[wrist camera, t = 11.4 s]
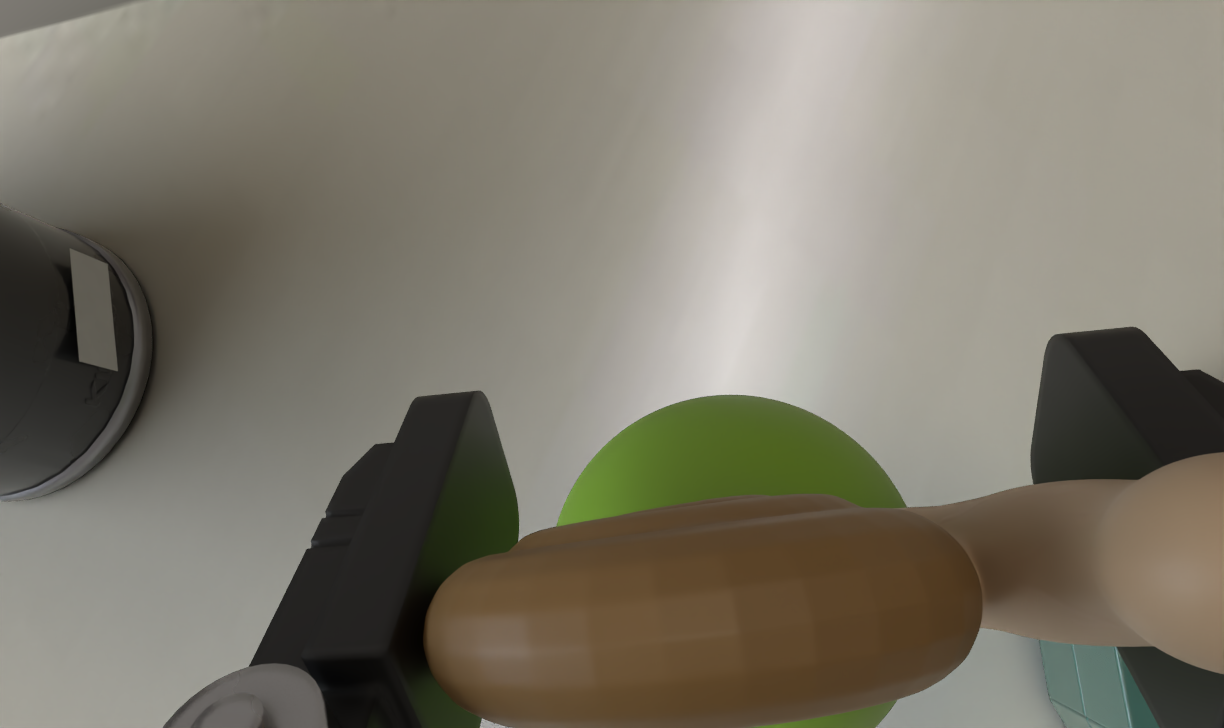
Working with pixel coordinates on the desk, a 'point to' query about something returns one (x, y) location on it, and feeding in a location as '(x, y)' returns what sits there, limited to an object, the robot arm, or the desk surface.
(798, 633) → the snail figurine
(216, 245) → the desk surface
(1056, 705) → the bowl
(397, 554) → the robot arm
